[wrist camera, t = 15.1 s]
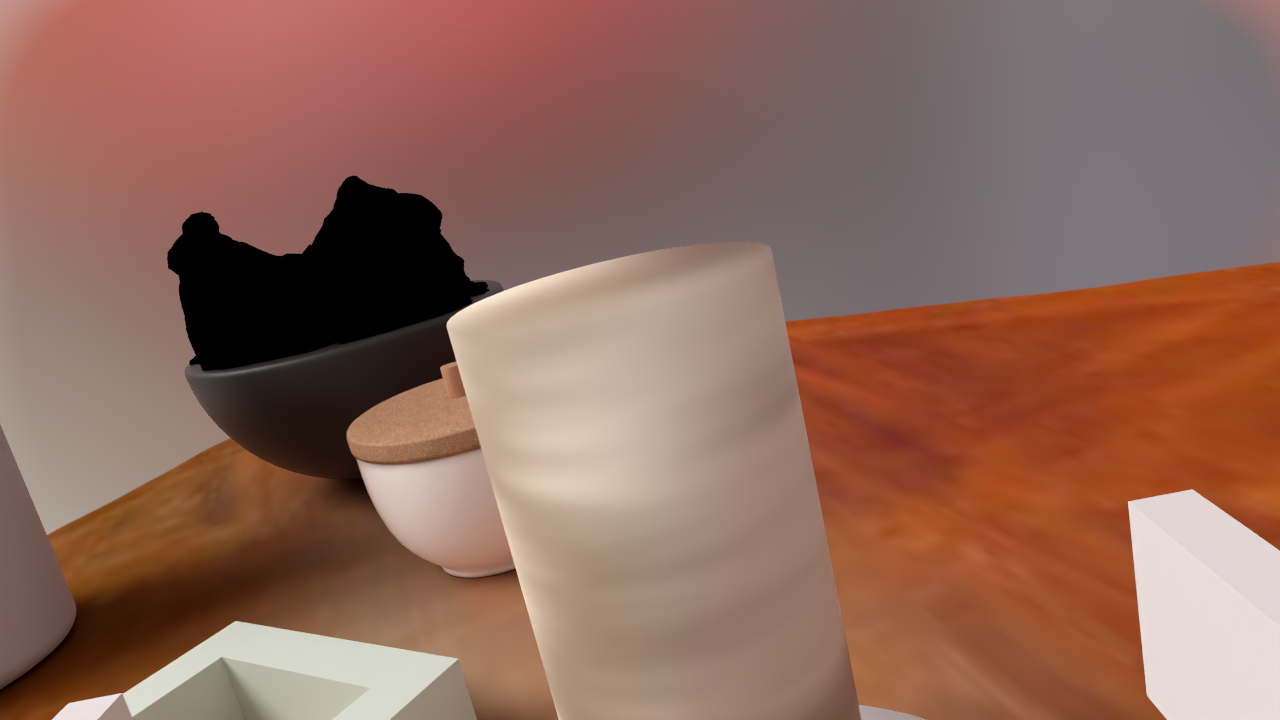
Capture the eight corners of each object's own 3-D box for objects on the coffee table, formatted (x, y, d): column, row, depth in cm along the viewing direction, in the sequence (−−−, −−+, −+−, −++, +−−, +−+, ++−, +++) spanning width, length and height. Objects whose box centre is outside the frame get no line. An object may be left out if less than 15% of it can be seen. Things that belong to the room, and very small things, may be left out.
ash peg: (933, 864, 21) (820, 226, 18) (849, 1121, 16) (670, 317, 13) (705, 808, 24) (570, 262, 21) (580, 1009, 20) (376, 345, 16)
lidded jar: (587, 479, 51) (546, 317, 49) (631, 555, 41) (582, 355, 38) (395, 537, 49) (342, 372, 47) (391, 633, 39) (323, 427, 36)
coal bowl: (575, 395, 68) (510, 139, 63) (472, 516, 49) (369, 167, 45) (341, 430, 73) (265, 197, 69) (167, 552, 55) (48, 244, 50)
